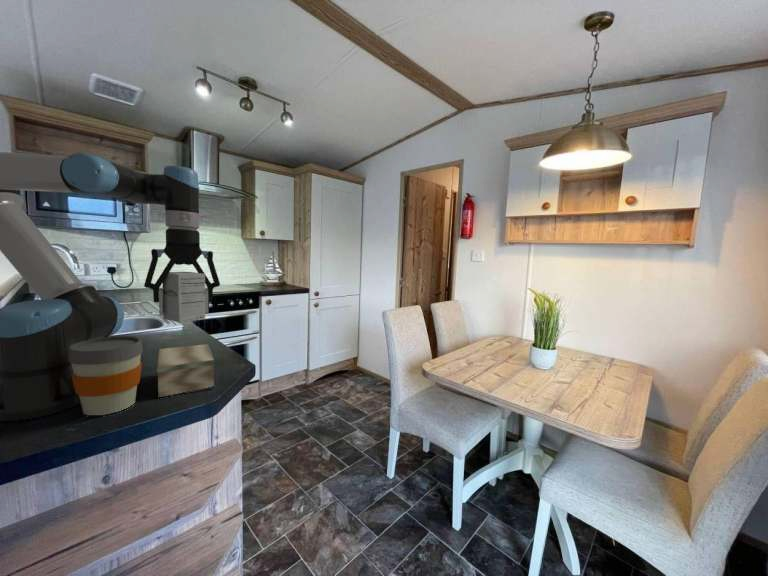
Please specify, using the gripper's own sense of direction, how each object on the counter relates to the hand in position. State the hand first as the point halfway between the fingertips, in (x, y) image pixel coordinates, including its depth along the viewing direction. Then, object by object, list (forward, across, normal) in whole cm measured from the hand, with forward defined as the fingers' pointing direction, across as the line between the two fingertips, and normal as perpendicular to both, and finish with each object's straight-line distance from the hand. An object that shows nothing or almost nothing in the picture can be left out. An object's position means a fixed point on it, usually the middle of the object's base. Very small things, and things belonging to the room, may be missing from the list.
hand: (184, 313), depth 86 cm
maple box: (+19, 0, 0) cm, 19 cm away
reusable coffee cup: (+20, -15, -8) cm, 26 cm away
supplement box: (+2, 0, 0) cm, 2 cm away
